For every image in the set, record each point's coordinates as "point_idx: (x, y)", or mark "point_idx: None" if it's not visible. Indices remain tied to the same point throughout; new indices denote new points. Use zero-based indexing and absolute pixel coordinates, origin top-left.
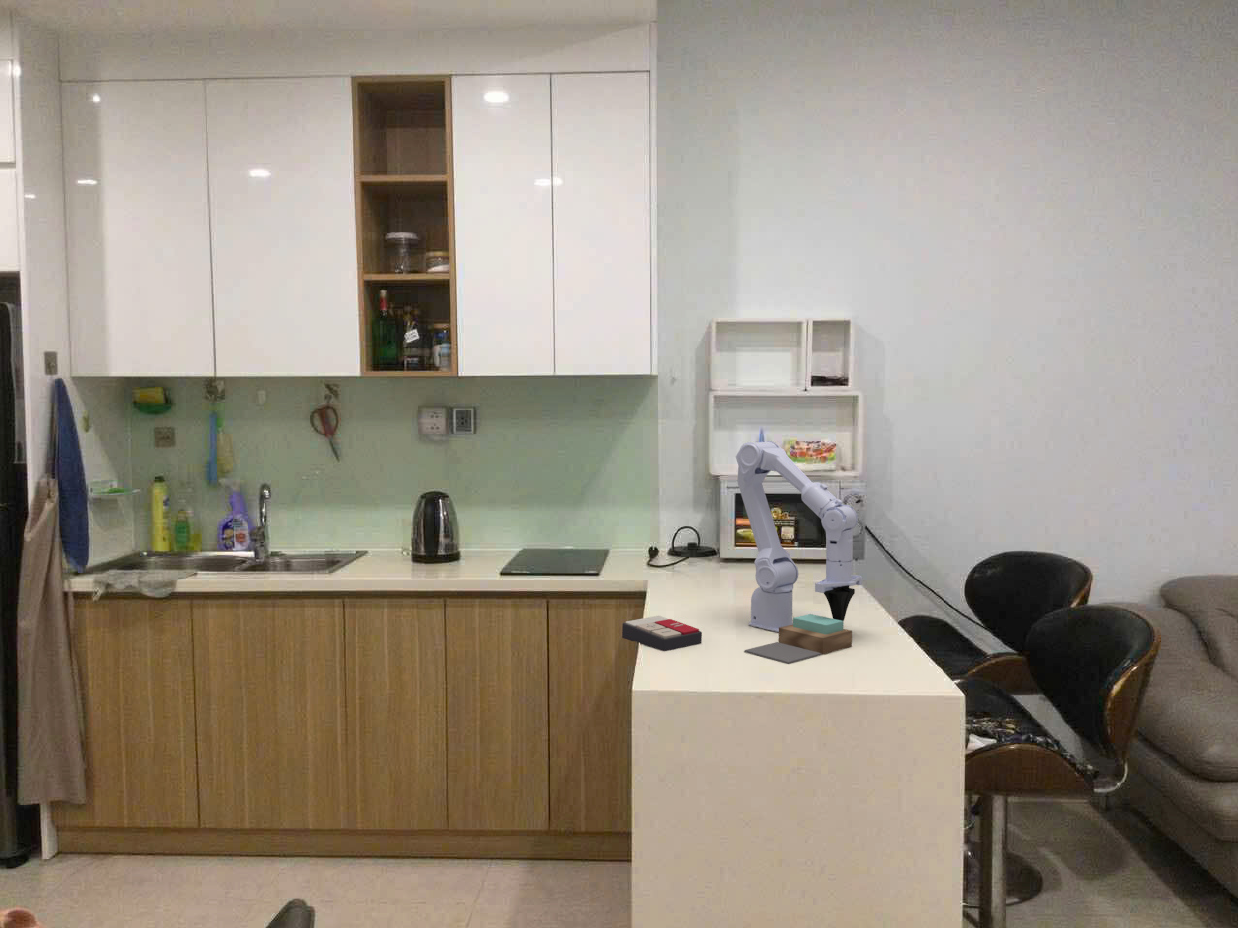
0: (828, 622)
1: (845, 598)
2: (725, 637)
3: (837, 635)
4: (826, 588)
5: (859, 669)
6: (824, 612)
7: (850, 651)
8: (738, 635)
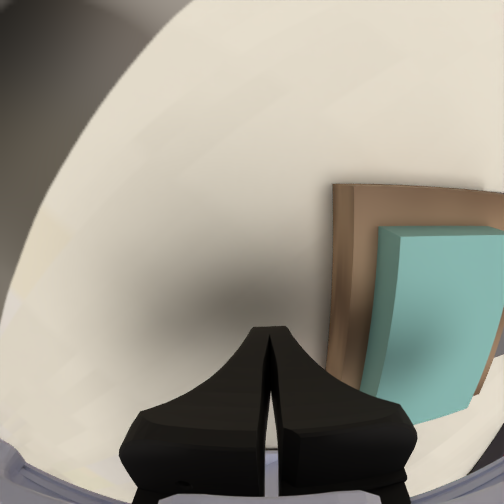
0: (475, 268)
1: (297, 398)
2: (456, 443)
3: (457, 190)
4: (483, 486)
5: (491, 36)
6: (84, 459)
7: (394, 143)
8: (429, 449)
